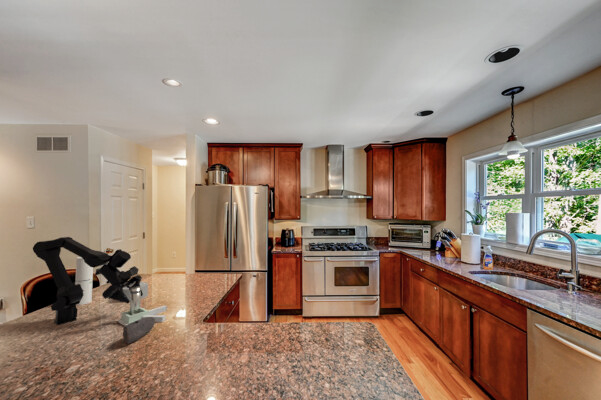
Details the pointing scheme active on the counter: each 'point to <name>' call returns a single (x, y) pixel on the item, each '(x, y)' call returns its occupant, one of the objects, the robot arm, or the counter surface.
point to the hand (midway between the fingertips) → (135, 298)
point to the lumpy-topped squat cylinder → (143, 287)
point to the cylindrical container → (84, 280)
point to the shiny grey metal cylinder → (135, 300)
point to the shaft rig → (143, 315)
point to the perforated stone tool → (137, 329)
